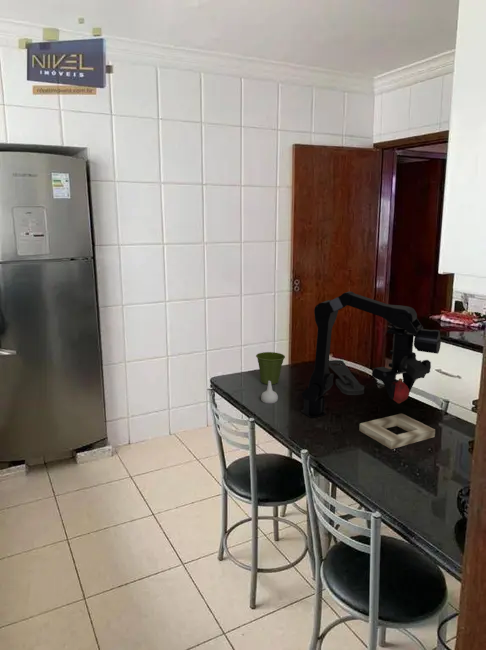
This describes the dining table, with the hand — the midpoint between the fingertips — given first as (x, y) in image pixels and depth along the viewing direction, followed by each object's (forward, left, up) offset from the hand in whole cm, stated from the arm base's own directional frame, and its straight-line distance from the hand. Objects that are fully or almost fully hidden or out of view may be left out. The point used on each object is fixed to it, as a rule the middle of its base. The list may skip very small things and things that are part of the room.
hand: (399, 397), depth 149 cm
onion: (0, 0, -2) cm, 2 cm away
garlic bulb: (-22, +42, -13) cm, 49 cm away
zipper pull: (+15, +44, -13) cm, 48 cm away
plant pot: (-11, +60, -12) cm, 62 cm away
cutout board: (0, 0, -12) cm, 12 cm away
